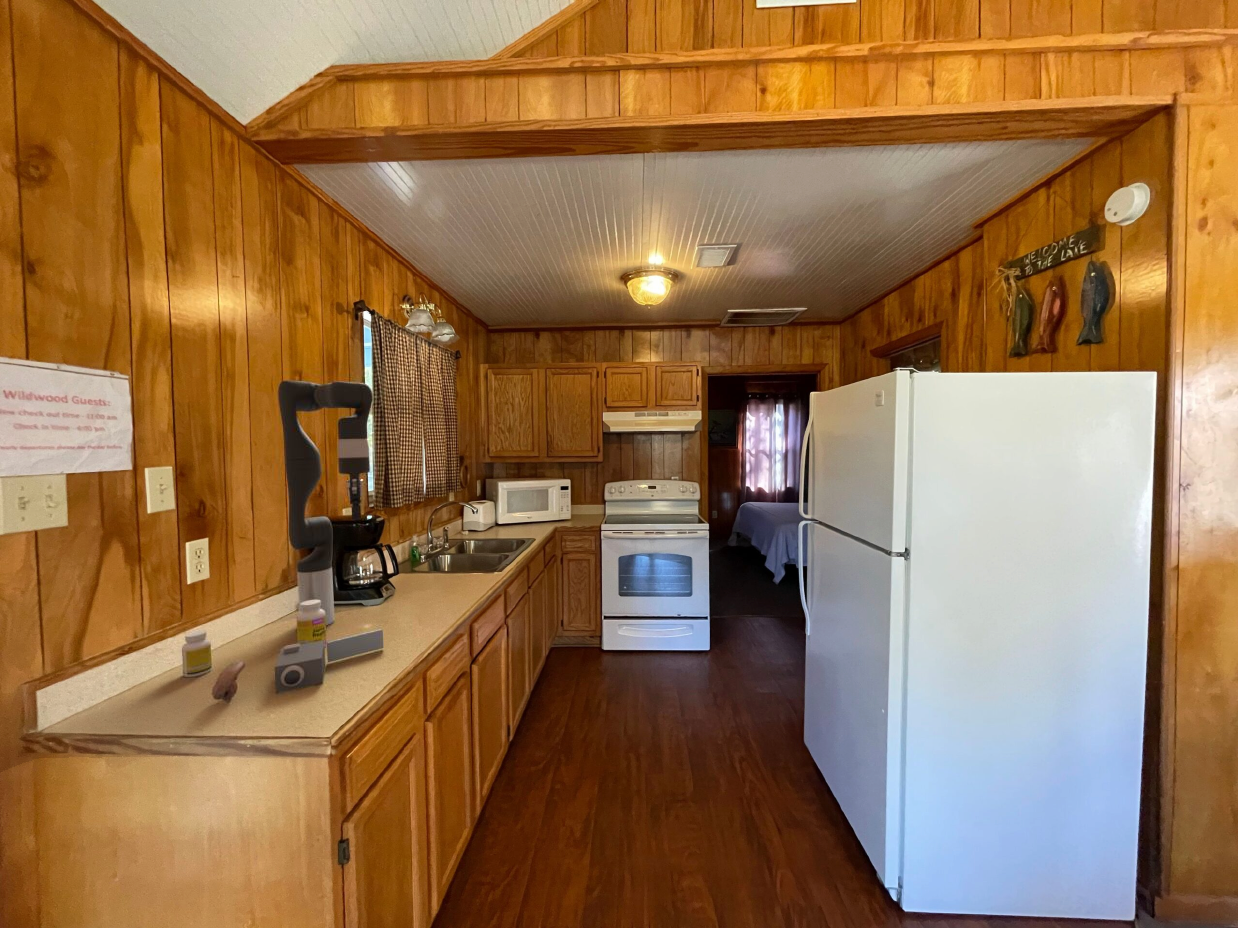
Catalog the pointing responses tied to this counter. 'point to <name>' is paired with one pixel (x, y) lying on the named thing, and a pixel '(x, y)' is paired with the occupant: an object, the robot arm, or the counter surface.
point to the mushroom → (227, 682)
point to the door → (354, 645)
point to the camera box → (300, 666)
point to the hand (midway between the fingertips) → (356, 519)
